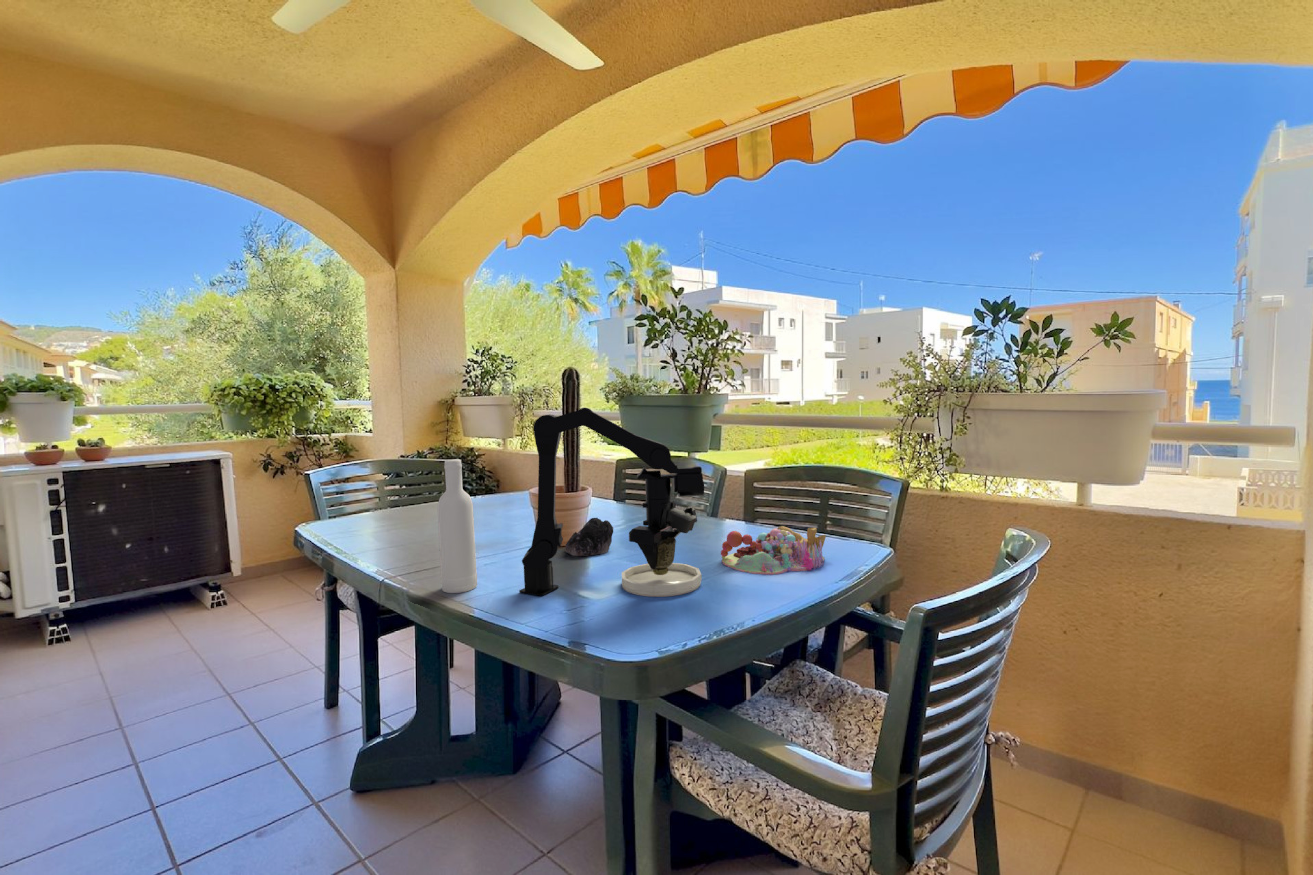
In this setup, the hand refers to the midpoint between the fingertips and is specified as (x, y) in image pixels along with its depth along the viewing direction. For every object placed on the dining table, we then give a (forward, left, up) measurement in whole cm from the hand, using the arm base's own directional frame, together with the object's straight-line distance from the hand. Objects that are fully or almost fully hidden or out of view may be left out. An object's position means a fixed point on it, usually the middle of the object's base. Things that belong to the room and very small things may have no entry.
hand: (660, 565), depth 138 cm
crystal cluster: (+21, +33, -5) cm, 39 cm away
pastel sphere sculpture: (+27, -19, -5) cm, 34 cm away
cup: (0, 0, -2) cm, 2 cm away
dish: (0, 0, -4) cm, 4 cm away
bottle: (-19, +43, -5) cm, 47 cm away
